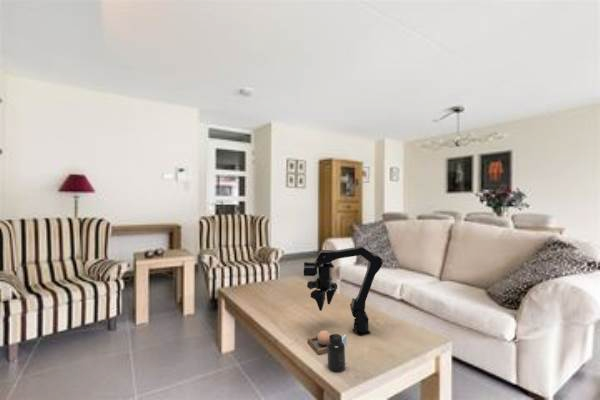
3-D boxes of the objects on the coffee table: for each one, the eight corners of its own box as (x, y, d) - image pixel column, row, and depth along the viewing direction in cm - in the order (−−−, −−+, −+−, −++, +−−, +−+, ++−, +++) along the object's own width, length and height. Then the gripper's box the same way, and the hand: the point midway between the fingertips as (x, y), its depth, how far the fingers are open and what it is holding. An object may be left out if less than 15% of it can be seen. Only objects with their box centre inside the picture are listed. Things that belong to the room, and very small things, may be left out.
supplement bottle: (343, 361, 113) (342, 332, 113) (346, 372, 106) (346, 340, 106) (326, 362, 113) (326, 332, 113) (328, 372, 106) (328, 341, 106)
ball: (326, 340, 129) (326, 327, 130) (333, 346, 124) (333, 332, 124) (315, 342, 127) (315, 329, 127) (321, 349, 122) (321, 335, 122)
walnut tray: (328, 337, 133) (328, 333, 133) (341, 349, 123) (341, 344, 123) (307, 342, 128) (307, 338, 128) (318, 355, 118) (318, 350, 118)
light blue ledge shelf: (343, 341, 129) (343, 334, 129) (348, 342, 128) (347, 335, 128) (328, 358, 115) (328, 350, 115) (333, 360, 114) (333, 352, 114)
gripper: (318, 269, 151) (318, 298, 151) (300, 278, 135) (301, 310, 135) (337, 272, 146) (337, 302, 146) (321, 281, 130) (321, 315, 130)
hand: (324, 307), depth 139 cm, fingers open, 9 cm apart
